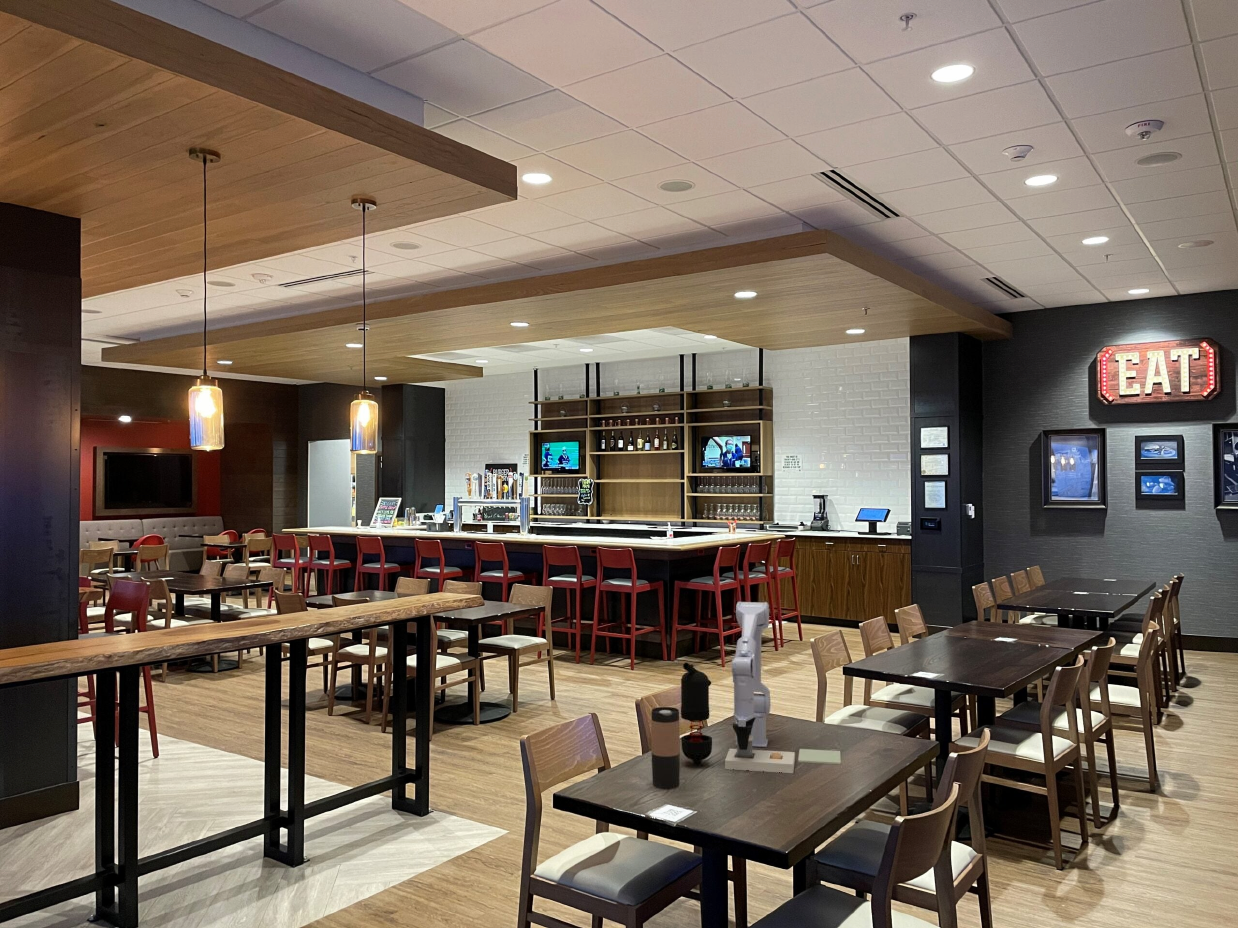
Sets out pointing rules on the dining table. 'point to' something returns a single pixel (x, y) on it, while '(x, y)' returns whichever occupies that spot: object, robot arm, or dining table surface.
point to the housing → (761, 761)
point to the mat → (819, 756)
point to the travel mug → (665, 747)
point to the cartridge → (747, 752)
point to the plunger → (775, 756)
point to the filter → (695, 713)
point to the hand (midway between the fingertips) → (744, 745)
